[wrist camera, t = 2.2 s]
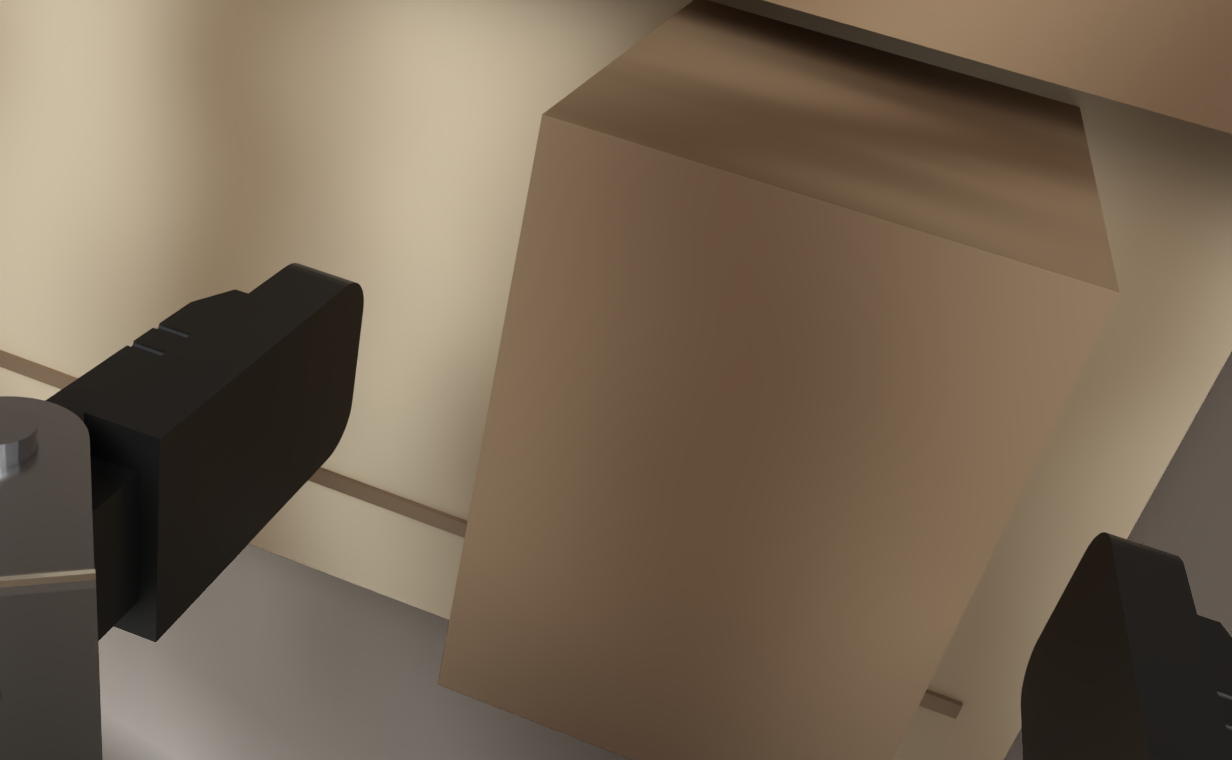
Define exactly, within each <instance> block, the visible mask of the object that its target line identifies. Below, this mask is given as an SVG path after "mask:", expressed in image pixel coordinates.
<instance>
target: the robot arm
mask: <svg viewBox="0 0 1232 760" xmlns="http://www.w3.org/2000/svg"><path fill="white" fill-rule="evenodd" d="M363 308H364V295H363V290H362V287H361V286H360V284H358V283H356V282H353V281H350V280H347V279H344V278H341V277H338V276H335V275H332V274H329V273H326V272H323V271H320V270H317V269H314V268H311V267H308V266H305V265H302V264H299V263H292V264H289V265H287V266H286V267H284V268H283V269H282V270H280V271H279V272H277V273H276V274H275V275H273V276H272V277H270V278H269V279H268V280H266V281H265V282H264V283H262V284H261V285H259V286H258V287H257V288H255V289H254V290H252V291H251V292H250V293H245V292H242V291H239V290H236V289H235V290H231V291H228V292H224V293H221V294H217V295H214V296H210V297H207V298H203V299H200V300H196V301H193V302H190V303H189V304H187V305H186V306H184V307H183V308H181V309H180V310H178V311H177V312H175V313H174V314H172V315H171V316H169V317H168V318H166V319H165V320H163V321H162V322H161V323H159V327H158V328H157V329H156V328H152V329H150V330H149V331H147V332H146V333H144V334H143V335H141V336H140V337H138V338H137V339H135V340H134V341H133V345H132V346H131V347H130V346H128V345H127V346H125V347H124V348H122V349H121V350H119V351H118V352H116V353H115V354H113V355H112V356H110V357H109V358H107V359H106V360H104V361H103V362H102V363H100V364H99V365H97V366H96V367H94V368H93V369H91V370H90V371H88V372H87V373H85V374H84V375H82V376H81V377H79V378H78V379H76V380H75V381H73V382H72V383H71V384H69V385H68V386H66V387H65V388H63V389H62V390H60V391H59V392H57V393H56V394H54V395H53V396H51V397H50V398H48V399H47V400H45V401H44V400H40V399H35V398H27V397H17V396H0V760H102V736H101V708H100V681H99V653H98V641H99V640H100V639H101V638H102V637H103V636H104V635H105V634H106V633H107V632H108V631H109V630H110V629H111V628H112V627H113V626H115V627H117V628H120V629H122V630H125V631H128V632H130V633H133V634H135V635H138V636H141V637H143V638H146V639H149V640H151V641H154V642H157V641H158V639H159V638H160V637H161V636H162V635H163V634H164V633H165V632H166V631H167V630H168V629H169V628H170V627H171V626H172V625H173V623H174V622H175V621H176V620H177V619H178V618H179V617H180V616H181V615H182V614H183V613H184V612H185V611H186V610H187V609H188V608H189V606H190V605H191V604H192V603H193V602H194V601H195V600H196V599H197V598H198V597H199V596H200V595H201V594H202V593H203V592H204V591H205V589H206V588H207V587H208V586H209V585H210V584H211V583H212V582H213V581H214V580H215V579H216V578H217V577H218V576H219V575H220V573H221V572H222V571H223V570H224V569H225V568H226V567H227V566H228V565H229V564H230V563H231V562H232V561H233V560H234V559H235V558H236V556H237V555H238V554H239V553H240V552H241V551H242V550H243V549H244V548H245V547H246V546H247V545H248V544H249V543H250V542H251V540H252V539H253V538H254V537H255V536H256V535H257V534H258V533H259V532H260V531H261V530H262V529H263V528H264V527H265V526H266V525H267V523H268V522H269V521H270V520H271V519H272V518H273V517H274V516H275V515H276V514H277V513H278V512H279V511H280V510H281V509H282V508H283V506H284V505H285V504H286V503H287V502H288V501H289V500H290V499H291V498H292V497H293V496H294V495H295V494H296V493H297V492H298V490H299V489H300V488H301V487H302V486H303V485H304V484H305V483H306V482H307V481H308V480H309V479H310V478H311V477H312V476H313V475H314V473H315V472H316V471H317V470H318V469H319V468H320V467H321V466H322V465H323V464H324V463H325V462H326V461H327V460H328V458H329V457H330V456H331V455H332V453H333V452H334V450H335V449H336V447H337V445H338V444H339V442H340V440H341V438H342V436H343V433H344V431H345V428H346V426H347V423H348V419H349V416H350V412H351V407H352V401H353V392H354V384H355V376H356V367H357V359H358V350H359V342H360V334H361V325H362V317H363ZM1021 723H1022V744H1023V760H1232V637H1231V636H1230V635H1229V634H1228V632H1227V631H1226V630H1225V628H1224V627H1223V626H1222V624H1221V623H1220V622H1217V621H1214V620H1211V619H1208V618H1205V617H1202V616H1199V615H1197V613H1196V609H1195V605H1194V601H1193V597H1192V594H1191V590H1190V586H1189V582H1188V578H1187V575H1186V571H1185V567H1184V564H1183V561H1182V560H1181V558H1180V557H1178V556H1176V555H1173V554H1170V553H1167V552H1163V551H1160V550H1157V549H1154V548H1151V547H1148V546H1145V545H1142V544H1139V543H1136V542H1133V541H1130V540H1127V539H1124V538H1121V537H1118V536H1115V535H1112V534H1109V533H1106V532H1102V533H1100V534H1098V535H1097V536H1096V537H1095V538H1094V539H1093V540H1092V542H1091V543H1090V545H1089V546H1088V548H1087V549H1086V551H1085V553H1084V555H1083V557H1082V558H1081V560H1080V562H1079V564H1078V566H1077V568H1076V570H1075V571H1074V573H1073V575H1072V577H1071V579H1070V581H1069V583H1068V584H1067V586H1066V588H1065V590H1064V592H1063V594H1062V596H1061V597H1060V599H1059V601H1058V603H1057V605H1056V607H1055V609H1054V610H1053V612H1052V614H1051V616H1050V618H1049V620H1048V622H1047V623H1046V625H1045V627H1044V629H1043V631H1042V633H1041V635H1040V636H1039V638H1038V640H1037V642H1036V644H1035V646H1034V649H1033V651H1032V653H1031V656H1030V659H1029V661H1028V665H1027V668H1026V672H1025V676H1024V680H1023V685H1022V691H1021Z"/></svg>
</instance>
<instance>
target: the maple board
mask: <svg viewBox="0 0 1232 760" xmlns="http://www.w3.org/2000/svg"><path fill="white" fill-rule="evenodd" d="M692 1H693V0H0V396H17V397H27V398H35V399H40V400H44V401H45V400H47V399H48V398H50V397H51V396H53V395H54V394H56V393H57V392H59V391H60V390H62V389H63V388H65V387H66V386H68V385H69V384H71V383H72V382H73V381H75V380H76V379H78V378H79V377H81V376H82V375H84V374H85V373H87V372H88V371H90V370H91V369H93V368H94V367H96V366H97V365H99V364H100V363H102V362H103V361H104V360H106V359H107V358H109V357H110V356H112V355H113V354H115V353H116V352H118V351H119V350H121V349H122V348H124V347H125V346H127V345H128V346H130V347H131V346H132V345H133V341H134V340H135V339H137V338H138V337H140V336H141V335H143V334H144V333H146V332H147V331H149V330H150V329H152V328H156V329H157V328H158V327H159V323H161V322H162V321H163V320H165V319H166V318H168V317H169V316H171V315H172V314H174V313H175V312H177V311H178V310H180V309H181V308H183V307H184V306H186V305H187V304H189V303H190V302H193V301H196V300H200V299H203V298H207V297H210V296H214V295H217V294H221V293H224V292H228V291H231V290H235V289H236V290H239V291H242V292H245V293H250V292H251V291H252V290H254V289H255V288H257V287H258V286H259V285H261V284H262V283H264V282H265V281H266V280H268V279H269V278H270V277H272V276H273V275H275V274H276V273H277V272H279V271H280V270H282V269H283V268H284V267H286V266H287V265H289V264H292V263H299V264H302V265H305V266H308V267H311V268H314V269H317V270H320V271H323V272H326V273H329V274H332V275H335V276H338V277H341V278H344V279H347V280H350V281H353V282H356V283H358V284H360V286H361V287H362V290H363V295H364V308H363V317H362V325H361V334H360V342H359V350H358V359H357V367H356V376H355V384H354V392H353V401H352V407H351V412H350V416H349V419H348V423H347V426H346V428H345V431H344V433H343V436H342V438H341V440H340V442H339V444H338V445H337V447H336V449H335V450H334V452H333V453H332V455H331V456H330V457H329V458H328V460H327V461H326V462H325V463H324V464H323V465H322V466H321V467H320V468H319V469H318V470H317V471H316V472H315V473H314V475H313V476H312V477H311V478H310V479H309V480H308V481H307V482H306V483H305V484H304V485H303V486H302V487H301V488H300V489H299V490H298V492H297V493H296V494H295V495H294V496H293V497H292V498H291V499H290V500H289V501H288V502H287V503H286V504H285V505H284V506H283V508H282V509H281V510H280V511H279V512H278V513H277V514H276V515H275V516H274V517H273V518H272V519H271V520H270V521H269V522H268V523H267V525H266V526H265V527H264V528H263V529H262V530H261V531H260V532H259V533H258V534H257V535H256V536H255V537H254V538H253V539H252V540H251V542H250V543H249V544H251V545H253V546H256V547H259V548H261V549H264V550H267V551H269V552H272V553H274V554H277V555H280V556H282V557H285V558H288V559H290V560H293V561H296V562H298V563H301V564H303V565H306V566H309V567H311V568H314V569H317V570H319V571H322V572H324V573H327V574H330V575H332V576H335V577H338V578H340V579H343V580H345V581H348V582H351V583H353V584H356V585H359V586H361V587H364V588H366V589H369V590H372V591H374V592H377V593H380V594H382V595H385V596H388V597H390V598H393V599H395V600H398V601H401V602H403V603H406V604H409V605H411V606H414V607H416V608H419V609H422V610H424V611H427V612H430V613H432V614H435V615H437V616H440V617H443V618H445V619H448V620H450V614H451V609H452V603H453V598H454V592H455V587H456V582H457V576H458V571H459V565H460V560H461V554H462V549H463V543H464V538H465V532H466V527H467V522H468V516H469V511H470V505H471V500H472V494H473V489H474V483H475V478H476V472H477V467H478V462H479V456H480V451H481V445H482V440H483V434H484V429H485V423H486V418H487V412H488V407H489V402H490V396H491V391H492V385H493V380H494V374H495V369H496V363H497V358H498V352H499V347H500V342H501V336H502V331H503V325H504V320H505V314H506V309H507V303H508V298H509V292H510V287H511V282H512V276H513V271H514V265H515V260H516V254H517V249H518V243H519V238H520V233H521V227H522V222H523V216H524V211H525V205H526V200H527V194H528V189H529V183H530V178H531V173H532V167H533V162H534V156H535V151H536V145H537V140H538V134H539V129H540V123H541V118H542V114H543V113H545V112H546V111H547V110H549V109H550V108H551V107H553V106H554V105H555V104H557V103H558V102H559V101H561V100H562V99H563V98H565V97H566V96H567V95H568V94H570V93H571V92H572V91H574V90H575V89H576V88H578V87H579V86H580V85H582V84H583V83H584V82H586V81H587V80H588V79H590V78H591V77H592V76H594V75H595V74H596V73H598V72H599V71H600V70H602V69H603V68H604V67H606V66H607V65H608V64H610V63H611V62H612V61H614V60H615V59H616V58H618V57H619V56H620V55H622V54H623V53H624V52H626V51H627V50H628V49H630V48H631V47H632V46H633V45H635V44H636V43H637V42H639V41H640V40H641V39H643V38H644V37H645V36H647V35H648V34H649V33H651V32H652V31H653V30H655V29H656V28H657V27H659V26H660V25H661V24H663V23H664V22H665V21H667V20H668V19H669V18H671V17H672V16H673V15H675V14H676V13H677V12H679V11H680V10H681V9H683V8H684V7H685V6H687V5H688V4H689V3H691V2H692ZM708 1H712V2H715V3H719V4H722V5H726V6H729V7H733V8H736V9H740V10H743V11H747V12H750V13H754V14H757V15H761V16H764V17H768V18H771V19H775V20H778V21H782V22H785V23H789V24H792V25H796V26H799V27H803V28H806V29H809V30H813V31H816V32H820V33H823V34H827V35H830V36H834V37H837V38H841V39H844V40H848V41H851V42H855V43H858V44H862V45H865V46H869V47H872V48H876V49H879V50H883V51H886V52H890V53H893V54H897V55H900V56H904V57H907V58H910V59H914V60H917V61H921V62H924V63H928V64H931V65H935V66H938V67H942V68H945V69H949V70H952V71H956V72H959V73H963V74H966V75H970V76H973V77H977V78H980V79H984V80H987V81H991V82H994V83H998V84H1001V85H1005V86H1008V87H1011V88H1015V89H1018V90H1022V91H1025V92H1029V93H1032V94H1036V95H1039V96H1043V97H1046V98H1050V99H1053V100H1057V101H1060V102H1064V103H1067V104H1071V105H1074V106H1078V107H1080V111H1081V115H1082V120H1083V125H1084V129H1085V134H1086V139H1087V143H1088V148H1089V153H1090V157H1091V162H1092V167H1093V171H1094V176H1095V181H1096V185H1097V190H1098V194H1099V199H1100V204H1101V208H1102V213H1103V218H1104V222H1105V227H1106V232H1107V236H1108V241H1109V246H1110V250H1111V255H1112V260H1113V264H1114V269H1115V274H1116V278H1117V283H1118V288H1119V292H1120V293H1119V295H1118V297H1117V299H1116V301H1115V303H1114V305H1113V307H1112V309H1111V311H1110V313H1109V315H1108V317H1107V319H1106V321H1105V324H1104V326H1103V328H1102V330H1101V332H1100V334H1099V336H1098V338H1097V340H1096V342H1095V344H1094V346H1093V348H1092V350H1091V352H1090V354H1089V356H1088V359H1087V361H1086V363H1085V365H1084V367H1083V369H1082V371H1081V373H1080V375H1079V377H1078V379H1077V381H1076V383H1075V385H1074V387H1073V389H1072V391H1071V393H1070V396H1069V398H1068V400H1067V402H1066V404H1065V406H1064V408H1063V410H1062V412H1061V414H1060V416H1059V418H1058V420H1057V422H1056V424H1055V426H1054V428H1053V431H1052V433H1051V435H1050V437H1049V439H1048V441H1047V443H1046V445H1045V447H1044V449H1043V451H1042V453H1041V455H1040V457H1039V459H1038V461H1037V463H1036V466H1035V468H1034V470H1033V472H1032V474H1031V476H1030V478H1029V480H1028V482H1027V484H1026V486H1025V488H1024V490H1023V492H1022V494H1021V496H1020V498H1019V500H1018V503H1017V505H1016V507H1015V509H1014V511H1013V513H1012V515H1011V517H1010V519H1009V521H1008V523H1007V525H1006V527H1005V529H1004V531H1003V533H1002V535H1001V538H1000V540H999V542H998V544H997V546H996V548H995V550H994V552H993V554H992V556H991V558H990V560H989V562H988V564H987V566H986V568H985V570H984V572H983V575H982V577H981V579H980V581H979V583H978V585H977V587H976V589H975V591H974V593H973V595H972V597H971V599H970V601H969V603H968V605H967V607H966V610H965V612H964V614H963V616H962V618H961V620H960V622H959V624H958V626H957V628H956V630H955V632H954V634H953V636H952V638H951V640H950V642H949V645H948V647H947V649H946V651H945V653H944V655H943V657H942V659H941V661H940V663H939V665H938V667H937V669H936V671H935V673H934V675H933V677H932V679H931V682H930V684H929V686H928V688H927V690H926V692H925V694H924V696H923V698H922V700H921V702H920V704H919V706H918V708H917V710H916V712H915V714H914V717H913V719H912V721H911V723H910V725H909V727H908V729H907V731H906V733H905V735H904V737H903V739H902V741H901V743H900V745H899V747H898V749H897V752H896V754H895V756H894V758H893V760H1004V758H1005V756H1006V755H1007V753H1008V751H1009V749H1010V747H1011V746H1012V744H1013V742H1014V740H1015V739H1016V737H1017V735H1018V733H1019V731H1020V730H1021V728H1022V723H1021V691H1022V685H1023V680H1024V676H1025V672H1026V668H1027V665H1028V661H1029V659H1030V656H1031V653H1032V651H1033V649H1034V646H1035V644H1036V642H1037V640H1038V638H1039V636H1040V635H1041V633H1042V631H1043V629H1044V627H1045V625H1046V623H1047V622H1048V620H1049V618H1050V616H1051V614H1052V612H1053V610H1054V609H1055V607H1056V605H1057V603H1058V601H1059V599H1060V597H1061V596H1062V594H1063V592H1064V590H1065V588H1066V586H1067V584H1068V583H1069V581H1070V579H1071V577H1072V575H1073V573H1074V571H1075V570H1076V568H1077V566H1078V564H1079V562H1080V560H1081V558H1082V557H1083V555H1084V553H1085V551H1086V549H1087V548H1088V546H1089V545H1090V543H1091V542H1092V540H1093V539H1094V538H1095V537H1096V536H1097V535H1098V534H1100V533H1102V532H1106V533H1109V534H1112V535H1115V536H1118V537H1121V538H1124V539H1127V538H1128V536H1129V534H1130V532H1131V531H1132V529H1133V527H1134V525H1135V523H1136V522H1137V520H1138V518H1139V516H1140V514H1141V513H1142V511H1143V509H1144V507H1145V505H1146V504H1147V502H1148V500H1149V498H1150V496H1151V495H1152V493H1153V491H1154V489H1155V488H1156V486H1157V484H1158V482H1159V480H1160V479H1161V477H1162V475H1163V473H1164V471H1165V470H1166V468H1167V466H1168V464H1169V462H1170V461H1171V459H1172V457H1173V455H1174V453H1175V452H1176V450H1177V448H1178V446H1179V444H1180V443H1181V441H1182V439H1183V437H1184V436H1185V434H1186V432H1187V430H1188V428H1189V427H1190V425H1191V423H1192V421H1193V419H1194V418H1195V416H1196V414H1197V412H1198V410H1199V409H1200V407H1201V405H1202V403H1203V401H1204V400H1205V398H1206V396H1207V394H1208V393H1209V391H1210V389H1211V387H1212V385H1213V384H1214V382H1215V380H1216V378H1217V376H1218V375H1219V373H1220V371H1221V369H1222V367H1223V366H1224V364H1225V362H1226V360H1227V358H1228V357H1229V355H1230V353H1231V351H1232V0H708Z"/></svg>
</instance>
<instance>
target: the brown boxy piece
mask: <svg viewBox="0 0 1232 760" xmlns="http://www.w3.org/2000/svg"><path fill="white" fill-rule="evenodd" d="M1119 293H1120V292H1119V288H1118V283H1117V278H1116V274H1115V269H1114V264H1113V260H1112V255H1111V250H1110V246H1109V241H1108V236H1107V232H1106V227H1105V222H1104V218H1103V213H1102V208H1101V204H1100V199H1099V194H1098V190H1097V185H1096V181H1095V176H1094V171H1093V167H1092V162H1091V157H1090V153H1089V148H1088V143H1087V139H1086V134H1085V129H1084V125H1083V120H1082V115H1081V111H1080V107H1078V106H1074V105H1071V104H1067V103H1064V102H1060V101H1057V100H1053V99H1050V98H1046V97H1043V96H1039V95H1036V94H1032V93H1029V92H1025V91H1022V90H1018V89H1015V88H1011V87H1008V86H1005V85H1001V84H998V83H994V82H991V81H987V80H984V79H980V78H977V77H973V76H970V75H966V74H963V73H959V72H956V71H952V70H949V69H945V68H942V67H938V66H935V65H931V64H928V63H924V62H921V61H917V60H914V59H910V58H907V57H904V56H900V55H897V54H893V53H890V52H886V51H883V50H879V49H876V48H872V47H869V46H865V45H862V44H858V43H855V42H851V41H848V40H844V39H841V38H837V37H834V36H830V35H827V34H823V33H820V32H816V31H813V30H809V29H806V28H803V27H799V26H796V25H792V24H789V23H785V22H782V21H778V20H775V19H771V18H768V17H764V16H761V15H757V14H754V13H750V12H747V11H743V10H740V9H736V8H733V7H729V6H726V5H722V4H719V3H715V2H712V1H708V0H693V1H692V2H691V3H689V4H688V5H687V6H685V7H684V8H683V9H681V10H680V11H679V12H677V13H676V14H675V15H673V16H672V17H671V18H669V19H668V20H667V21H665V22H664V23H663V24H661V25H660V26H659V27H657V28H656V29H655V30H653V31H652V32H651V33H649V34H648V35H647V36H645V37H644V38H643V39H641V40H640V41H639V42H637V43H636V44H635V45H633V46H632V47H631V48H630V49H628V50H627V51H626V52H624V53H623V54H622V55H620V56H619V57H618V58H616V59H615V60H614V61H612V62H611V63H610V64H608V65H607V66H606V67H604V68H603V69H602V70H600V71H599V72H598V73H596V74H595V75H594V76H592V77H591V78H590V79H588V80H587V81H586V82H584V83H583V84H582V85H580V86H579V87H578V88H576V89H575V90H574V91H572V92H571V93H570V94H568V95H567V96H566V97H565V98H563V99H562V100H561V101H559V102H558V103H557V104H555V105H554V106H553V107H551V108H550V109H549V110H547V111H546V112H545V113H543V114H542V118H541V123H540V129H539V134H538V140H537V145H536V151H535V156H534V162H533V167H532V173H531V178H530V183H529V189H528V194H527V200H526V205H525V211H524V216H523V222H522V227H521V233H520V238H519V243H518V249H517V254H516V260H515V265H514V271H513V276H512V282H511V287H510V292H509V298H508V303H507V309H506V314H505V320H504V325H503V331H502V336H501V342H500V347H499V352H498V358H497V363H496V369H495V374H494V380H493V385H492V391H491V396H490V402H489V407H488V412H487V418H486V423H485V429H484V434H483V440H482V445H481V451H480V456H479V462H478V467H477V472H476V478H475V483H474V489H473V494H472V500H471V505H470V511H469V516H468V522H467V527H466V532H465V538H464V543H463V549H462V554H461V560H460V565H459V571H458V576H457V582H456V587H455V592H454V598H453V603H452V609H451V614H450V620H449V625H448V631H447V636H446V641H445V647H444V652H443V658H442V663H441V669H440V674H439V680H438V685H441V686H443V687H446V688H448V689H451V690H453V691H456V692H459V693H461V694H464V695H466V696H469V697H471V698H474V699H477V700H479V701H482V702H484V703H487V704H489V705H492V706H494V707H497V708H500V709H502V710H505V711H507V712H510V713H512V714H515V715H518V716H520V717H523V718H525V719H528V720H530V721H533V722H536V723H538V724H541V725H543V726H546V727H548V728H551V729H554V730H556V731H559V732H561V733H564V734H566V735H569V736H571V737H574V738H577V739H579V740H582V741H584V742H587V743H589V744H592V745H595V746H597V747H600V748H602V749H605V750H607V751H610V752H613V753H615V754H618V755H620V756H623V757H625V758H628V759H630V760H893V758H894V756H895V754H896V752H897V749H898V747H899V745H900V743H901V741H902V739H903V737H904V735H905V733H906V731H907V729H908V727H909V725H910V723H911V721H912V719H913V717H914V714H915V712H916V710H917V708H918V706H919V704H920V702H921V700H922V698H923V696H924V694H925V692H926V690H927V688H928V686H929V684H930V682H931V679H932V677H933V675H934V673H935V671H936V669H937V667H938V665H939V663H940V661H941V659H942V657H943V655H944V653H945V651H946V649H947V647H948V645H949V642H950V640H951V638H952V636H953V634H954V632H955V630H956V628H957V626H958V624H959V622H960V620H961V618H962V616H963V614H964V612H965V610H966V607H967V605H968V603H969V601H970V599H971V597H972V595H973V593H974V591H975V589H976V587H977V585H978V583H979V581H980V579H981V577H982V575H983V572H984V570H985V568H986V566H987V564H988V562H989V560H990V558H991V556H992V554H993V552H994V550H995V548H996V546H997V544H998V542H999V540H1000V538H1001V535H1002V533H1003V531H1004V529H1005V527H1006V525H1007V523H1008V521H1009V519H1010V517H1011V515H1012V513H1013V511H1014V509H1015V507H1016V505H1017V503H1018V500H1019V498H1020V496H1021V494H1022V492H1023V490H1024V488H1025V486H1026V484H1027V482H1028V480H1029V478H1030V476H1031V474H1032V472H1033V470H1034V468H1035V466H1036V463H1037V461H1038V459H1039V457H1040V455H1041V453H1042V451H1043V449H1044V447H1045V445H1046V443H1047V441H1048V439H1049V437H1050V435H1051V433H1052V431H1053V428H1054V426H1055V424H1056V422H1057V420H1058V418H1059V416H1060V414H1061V412H1062V410H1063V408H1064V406H1065V404H1066V402H1067V400H1068V398H1069V396H1070V393H1071V391H1072V389H1073V387H1074V385H1075V383H1076V381H1077V379H1078V377H1079V375H1080V373H1081V371H1082V369H1083V367H1084V365H1085V363H1086V361H1087V359H1088V356H1089V354H1090V352H1091V350H1092V348H1093V346H1094V344H1095V342H1096V340H1097V338H1098V336H1099V334H1100V332H1101V330H1102V328H1103V326H1104V324H1105V321H1106V319H1107V317H1108V315H1109V313H1110V311H1111V309H1112V307H1113V305H1114V303H1115V301H1116V299H1117V297H1118V295H1119Z"/></svg>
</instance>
